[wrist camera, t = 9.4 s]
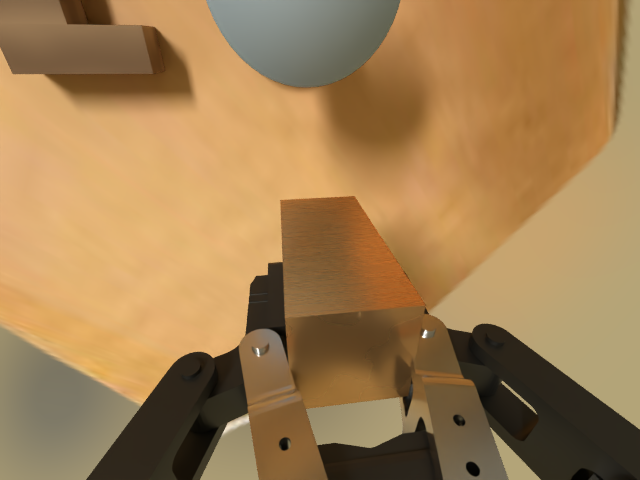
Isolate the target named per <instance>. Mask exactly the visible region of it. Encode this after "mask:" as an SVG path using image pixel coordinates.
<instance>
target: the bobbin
mask: <svg viewBox="0 0 640 480" xmlns="http://www.w3.org/2000/svg"><path fill="white" fill-rule="evenodd" d="M206 1H207V4H208V6H209V9H210V11H211V13H212V16H213V18H214V20H215V22H216V24H217V26H218V28H219V29H220V31H221V33H222V35H223V36H224V37H225V39H226V40H227V42H228V43H229V45H230V46H231V47H232V48H233V50H234V51H235V52H236V53H237V54H238V55H239V56H240V57H241V58H242V59H243V60H244V61H245V62H246V63H247V64H248V65H249V66H251V67H252V68H253V69H255V70H256V71H258V72H259V73H260V74H262V75H264V76H266V77H268V78H270V79H271V80H274V81H276V82H279V83H282V84H285V85H290V86H294V87H319V86H323V85H328V84H331V83H334V82H336V81H339V80H341V79H343V78H345V77H347V76H348V75H350V74H352V73H353V72H354V71H356V70H357V69H358V68H360V67H361V66H362V65H363V64H364V63H365V62H366V61H367V60H368V59H369V58H370V57H371V56H372V55H373V54H374V52H375V51H376V50H377V49H378V48H379V46H380V45H381V43H382V41H383V40H384V38H385V37H386V35H387V33H388V31H389V29H390V27H391V25H392V23H393V21H394V18H395V15H396V13H397V10H398V7H399V3H400V0H206Z"/></svg>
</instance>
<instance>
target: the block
mask: <svg viewBox="0 0 640 480" xmlns="http://www.w3.org/2000/svg"><path fill="white" fill-rule="evenodd" d="M280 201H281V227H282V254H283V280H284V306H285V325H286V337H287V349H288V362H289V370H290V371H291V374H292V377H293V380H294V384H295V387H296V389H298V390H299V391H300V394H301V396H302V399H303V402H304V406H305V409H308V408H316V407H324V406H332V405H340V404H348V403H356V402H364V401H372V400H380V399H388V398H396V397H404V396H408V395H409V390H410V384H411V379H412V376H411V370H410V365H411V360H412V356H416V353H417V348H418V342H419V337H420V332H421V327H422V321H423V316H424V311H425V306H426V305H425V304H424V302H423V301H422V299H421V297H420V296H419V294H418V293H417V291H416V290H415V288H414V287H413V285H412V284H411V282H410V281H409V279H408V278H407V276H406V274H405V273H404V271H403V270H402V268H401V267H400V265H399V264H398V262H397V261H396V259H395V258H394V256H393V255H392V253H391V251H390V250H389V248H388V247H387V245H386V244H385V242H384V241H383V239H382V238H381V236H380V235H379V233H378V232H377V230H376V228H375V227H374V225H373V224H372V222H371V221H370V219H369V218H368V216H367V215H366V213H365V212H364V210H363V209H362V207H361V205H360V204H359V202H358V201H357V199H356V198H355V196H349V197H331V198H312V199H293V200H280Z"/></svg>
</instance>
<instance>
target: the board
mask: <svg viewBox="0 0 640 480" xmlns="http://www.w3.org/2000/svg"><path fill="white" fill-rule="evenodd" d="M0 47H1V50H2V52H3V54H4V56H5V58H6V60H7V63H8V65H9V67H10V69H11V71H12V73H13V74H155V73H159V72H162V71H165V69H164V64H163V60H162V56H161V51H160V47H159V43H158V38H157V34H156V29H155V27H150V26H142V25H88V21H87V18H86V15H85V12H84V9H83V6H82V3H81V0H0Z"/></svg>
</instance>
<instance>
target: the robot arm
mask: <svg viewBox="0 0 640 480" xmlns="http://www.w3.org/2000/svg"><path fill="white" fill-rule="evenodd" d="M404 273H405V272H404ZM405 274H406V273H405ZM406 276H407V275H406ZM407 278H408V277H407ZM408 279H409V278H408ZM409 281H410V280H409ZM410 370H411V376H412V379H411V384H410V390H409V395H408V396H404V397H399V398H400V406H401V414H402V422H403V431H402V434H401V435H399V436H397V437H395V438H393V439H391V440H389V441H387V442H384V443H382V444H380V445H378V446H376V447H373V448H365V447H359V446H352V445H345V444H338V443H331V444H323V445H317V443H316V441H315V437H314V434H313V431H312V428H311V425H310V421H309V418H308V415H307V412H306V409H305V406H304V402H303V399H302V396H301V394H300V391H299V390H298V389H296V387H295V384H294V380H293V377H292V374H291V371H290V370H289V362H288V349H287V337H286V325H285V306H284V280H283V262H277V263H268V275H264V276H256V277H255V279H254V280H253V282H252V283H251V285H250V296H249V305H248V315H247V326H246V334H245V336H244V338H243V339H242V340H241V342H240V344H239V345H238V346H237V347H236V348H235V349H233V350H232V351H230V352H228V353H225V354H223V355H220V356H218V357H215V358H212V357H211V356H210V355H209V354H207V353H204V352H193V353H189V354H187V355H184V356H183V357H181V358H180V359H178V360H177V361H176V362H175V363H174V364H173V365H172V366H171V367H170V369H169V370H168V371H167V373H166V374H165V375H164V377H163V378H162V379H161V381H160V382H159V383H158V385H157V386H156V387H155V389H154V390H153V391H152V393H151V394H150V395H149V397H148V398H147V399H146V401H145V402H144V403H143V405H142V406H141V407H140V409H139V410H138V411H137V413H136V414H135V415H134V417H133V418H132V420H131V421H130V422H129V423H128V425H127V426H126V427H125V429H124V430H123V431H122V433H121V434H120V435H119V437H118V438H117V439H116V441H115V442H114V444H113V445H112V446H111V448H110V449H109V450H108V451H107V453H106V454H105V455H104V457H103V458H102V459H101V461H100V462H99V463H98V465H97V466H96V467H95V469H94V470H93V471H92V473H91V474H90V475H89V477H88V478H87V479H86V480H200V478H201V476H202V474H203V472H204V470H205V468H206V466H207V464H208V462H209V460H210V458H211V456H212V453H213V452H214V449H215V447H216V445H217V443H218V441H219V439H220V437H221V435H222V433H223V431H224V429H225V427H226V425H227V423H228V422H230V421H232V420H234V419H236V418H238V417H240V416H242V415H244V414H247V413H248V414H249V421H250V426H251V433H252V439H253V446H254V452H255V458H256V465H257V471H258V477H259V480H509V479H508V476H507V474H506V471H505V468H504V465H503V462H502V460H501V457H500V454H499V451H498V449H497V446H496V443H495V440H494V437H493V434H492V432H491V429H490V427H491V428H492V429H493V430H494V431H495V432H496V433H497V435H498V436H499V437H500V438H501V439H502V440H503V441H504V442H505V443H506V444H507V445H508V446H509V447H510V448H511V449H512V450H513V451H514V452H515V453H516V454H517V455H518V456H519V457H520V458H521V459H522V460H523V461H524V462H525V463H526V464H527V466H528V467H529V468H530V469H531V470H532V471H533V472H534V473H535V474H536V475H537V476H538V477H539V478H540V479H541V480H640V429H638V428H637V427H636V426H634V425H633V424H631V423H630V422H629V421H627V420H626V419H625V418H623V417H622V416H621V415H619V414H618V413H617V412H615V411H614V410H613V409H611V408H610V407H608V406H607V405H606V404H604V403H603V402H602V401H600V400H599V399H598V398H596V397H595V396H594V395H592V394H591V393H590V392H588V391H587V390H586V389H584V388H583V387H582V386H580V385H579V384H577V383H576V382H575V381H573V380H572V379H571V378H570V377H568V376H567V375H565V374H564V373H563V372H561V371H560V370H559V369H557V368H556V367H554V366H553V365H552V364H551V363H549V362H548V361H546V360H545V359H544V358H542V357H541V356H540V355H538V354H537V353H536V352H534V351H533V350H532V349H530V348H529V347H528V346H526V345H525V344H524V343H522V342H521V341H520V340H518V339H517V338H516V337H514V336H513V335H512V334H510V333H509V332H507V331H506V330H504V329H503V328H501V327H498V326H496V325H492V324H480V325H478V326H476V327H475V328H474V329H473V332H472V333H468V332H463V331H457V330H452V329H448V328H446V326H445V325H444V323H443V322H442V321H440V320H439V319H438V318H436V317H434V316H431V315H429V313H428V312H427V310H426V308H425V311H424V316H423V321H422V327H421V332H420V337H419V342H418V348H417V353H416V356H412V360H411V365H410ZM502 380H503V381H504V382H505V383H506V384H507V385H508V386H509V387H511V388H512V389H513V390H514V391H515V392H516V393H517V394H519V395H520V396H521V397H522V398H523V399H524V400H525V401H526V402H528V403H529V404H530V405H531V406H532V407H533V408H534V409H535V411H536V413H537V414H536V413H534V412H533V411H532V410H531V409H530V408H529V407H527V405H525V404H524V403H523V402H522V401H521V400H520V399H519V398H518V397H516V396H515V395H514V394H513V393H512V392H511V391H510V390H509V389H507V388H506V387H505V386H504V385H502V383H501V382H502Z"/></svg>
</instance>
